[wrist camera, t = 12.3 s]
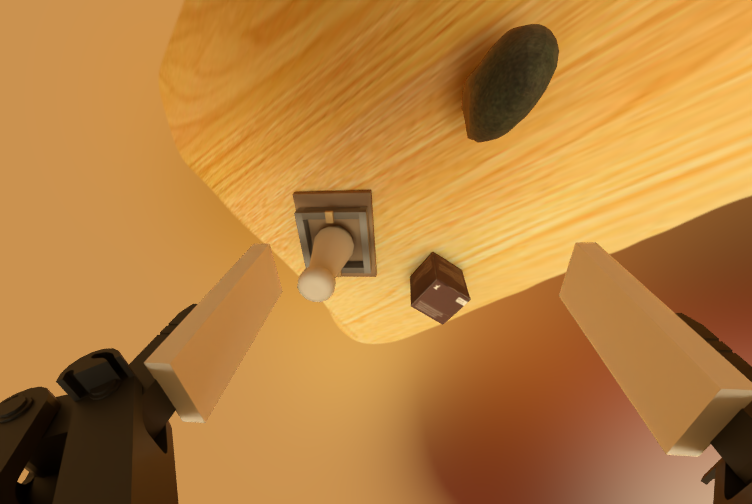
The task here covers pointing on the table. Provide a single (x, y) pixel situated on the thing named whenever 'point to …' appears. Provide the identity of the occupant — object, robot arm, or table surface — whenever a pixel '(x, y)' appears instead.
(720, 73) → the table surface
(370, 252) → the base
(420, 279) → the box
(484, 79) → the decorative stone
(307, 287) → the salt shaker
